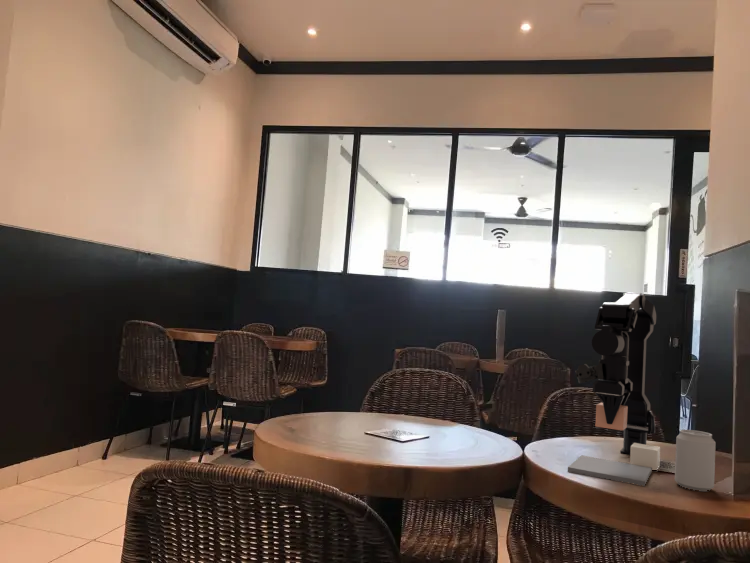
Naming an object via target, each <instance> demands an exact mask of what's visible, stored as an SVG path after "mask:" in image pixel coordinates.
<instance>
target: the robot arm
mask: <svg viewBox="0 0 750 563" xmlns="http://www.w3.org/2000/svg"><path fill="white" fill-rule="evenodd" d="M656 323H657V312H656V308H655V304H653V303H652V302H650V301H649V300H648V299H647V298H646V296H645V294H644V293H642V292H625V293H624V292H623V293H622V296H621V297H619V299H618V300H616V301H613V302H611V301H607V302H606V301H605V302H603V303H602V305H601V306H600V307H599V308H598V313H597V316H596V321H595V323H594V330H598V331H597V332H596V333H594V335H593V336H592V339H591V346H592V349H593V350H594V352H595V353H596V354H598V355H600V356H601V358H600V359H599V360H598V365H593V366H589V365H588V364H587V363H584V364H579V365H578V368H577V370H575V377H576V378H577V380H578V384H582V383H587V382H589V381H592V380H595V381H594V382H592V392H593V393H595V395H596V396H597V397H598V398H599V399H600V400H601V403H603V406H604V411H605V416H606V421H607V424H612V423H613V421H614V419H615V417H616V414H617V412H618V410H619V408H620V405H623V406H628V412H627V428H626V429H624V430H623V443H622V444H623V445H622V446H623V447H621V449H620V451H619V452H620V453H621V454H627V455H630V451H631V445H632V444H633V443H639V444H645V445H647V442H648V441H647V437H648V436H647V435H648V434H649V435H651V434H655V433H656V420H655V416H654V414H653V410H651V403H650V401H649V399H648V397H647V395H646V393H645V385H646V383H645V382H646V365H647V364H646V363H647V362H646V361H647V360H646V359H647V340H648V338H650V336H651V334H652V333H653V332H654V327H655V325H656ZM625 390H626V391H625Z"/></svg>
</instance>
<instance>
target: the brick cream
mask: <svg viewBox="0 0 750 563" xmlns="http://www.w3.org/2000/svg"><path fill="white" fill-rule="evenodd" d="M629 457H630V458H629V464H634V465H640V466H646V467H651V468H652V469H653V470H657V468H658V466H659V467H660V465H661V464H660V463H661V462H660V460H661V446H657V445H652V444H646V445H645V444H639V443H633V444H632V445H631V451H630V454H629ZM658 469H659V468H658ZM657 471H658V470H657Z"/></svg>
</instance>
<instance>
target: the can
mask: <svg viewBox="0 0 750 563" xmlns="http://www.w3.org/2000/svg"><path fill="white" fill-rule="evenodd" d="M679 432H680V433H678V435H677V436H676V439H675V440H676V442H675V464H674V465H675V467H674V482H676V483H677V484H678V486H679V485H680V486H679V487H681V486H682V487H681V488H683V487H685V488H684V489H686V488H689V489H688V490H690V489H693V490H692V491H695V490H699V491H698V492H708V491H707V490H709V491H710V490H711V489H714V488H715V472H716V470H715V469H716V468H715V467H716V441H715V439H713V434H712V433H710V432H705V431H700V430H695V429H694V430H693V429H680V430H679Z"/></svg>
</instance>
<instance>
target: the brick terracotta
mask: <svg viewBox="0 0 750 563" xmlns="http://www.w3.org/2000/svg"><path fill="white" fill-rule="evenodd" d="M627 412H628V406H623V405H620V408H619V410H618V412H617V414H616V417H615V419H614V421H613V423H612V424H607V421H606V416H605V411H604V406H603V402H600V403H596V405H595V425H594V426H595V427H597V428H603V429H604V428H605V429H610V430H611V429H612V430H616V431H624V429H626V428H627Z"/></svg>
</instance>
